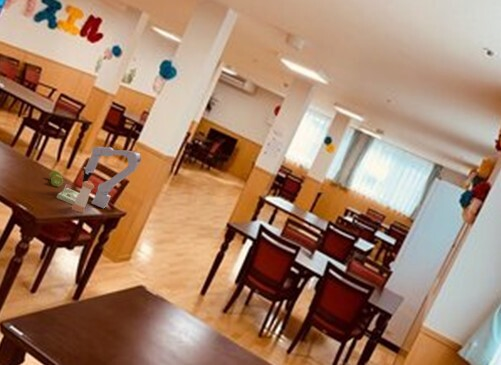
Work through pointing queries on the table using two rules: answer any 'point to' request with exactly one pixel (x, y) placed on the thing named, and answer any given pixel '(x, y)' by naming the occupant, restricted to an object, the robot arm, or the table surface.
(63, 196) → the pale green box
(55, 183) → the dumbbell
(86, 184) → the pepper shaker
